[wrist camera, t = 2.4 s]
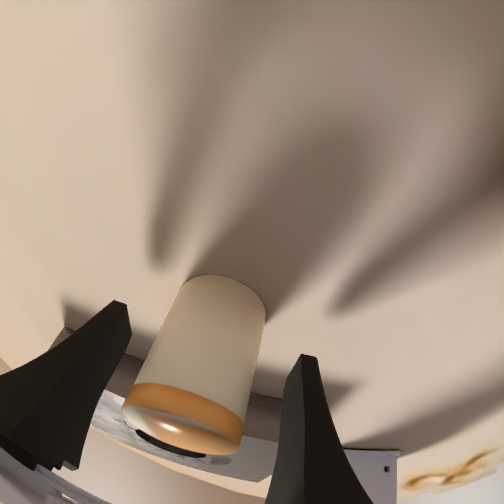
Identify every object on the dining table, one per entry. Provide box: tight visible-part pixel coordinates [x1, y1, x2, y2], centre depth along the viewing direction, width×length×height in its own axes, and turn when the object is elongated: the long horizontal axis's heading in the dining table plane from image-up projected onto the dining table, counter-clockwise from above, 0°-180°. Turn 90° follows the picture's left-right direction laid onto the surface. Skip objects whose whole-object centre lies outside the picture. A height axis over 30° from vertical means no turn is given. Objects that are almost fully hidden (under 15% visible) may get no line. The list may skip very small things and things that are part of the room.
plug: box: [121, 275, 266, 455], centre depth 11 cm, size 4×4×6 cm
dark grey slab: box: [48, 327, 282, 482], centre depth 21 cm, size 18×16×3 cm
